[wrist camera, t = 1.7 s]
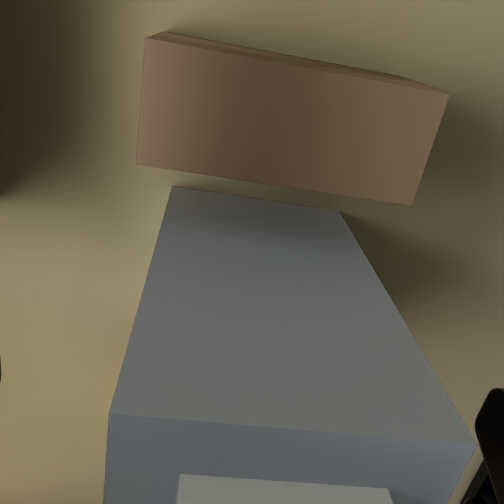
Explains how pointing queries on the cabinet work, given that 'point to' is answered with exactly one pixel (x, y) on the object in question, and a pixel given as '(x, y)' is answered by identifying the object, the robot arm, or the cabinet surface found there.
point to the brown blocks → (284, 120)
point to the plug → (274, 370)
